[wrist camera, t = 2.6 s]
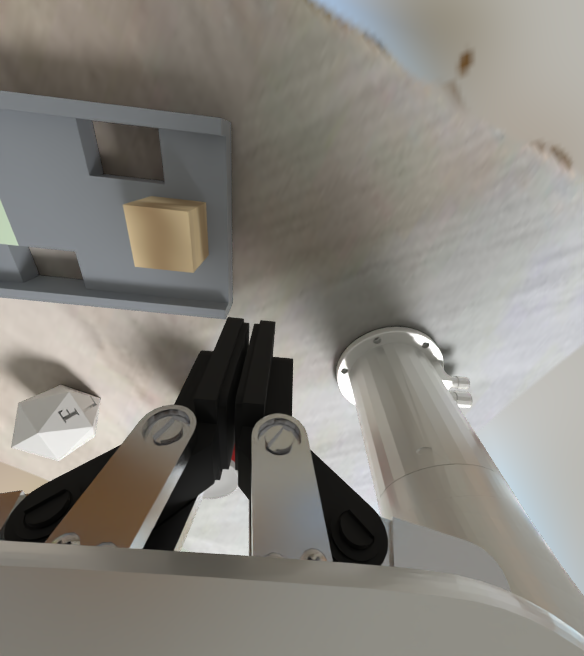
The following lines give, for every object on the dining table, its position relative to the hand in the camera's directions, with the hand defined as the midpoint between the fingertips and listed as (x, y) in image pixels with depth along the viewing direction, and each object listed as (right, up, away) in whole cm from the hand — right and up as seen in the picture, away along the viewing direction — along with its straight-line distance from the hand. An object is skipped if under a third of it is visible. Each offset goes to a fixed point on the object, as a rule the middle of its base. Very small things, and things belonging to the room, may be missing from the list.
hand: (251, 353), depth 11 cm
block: (-8, +10, +14) cm, 19 cm away
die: (-28, -9, +29) cm, 41 cm away
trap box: (-17, +12, +16) cm, 26 cm away
